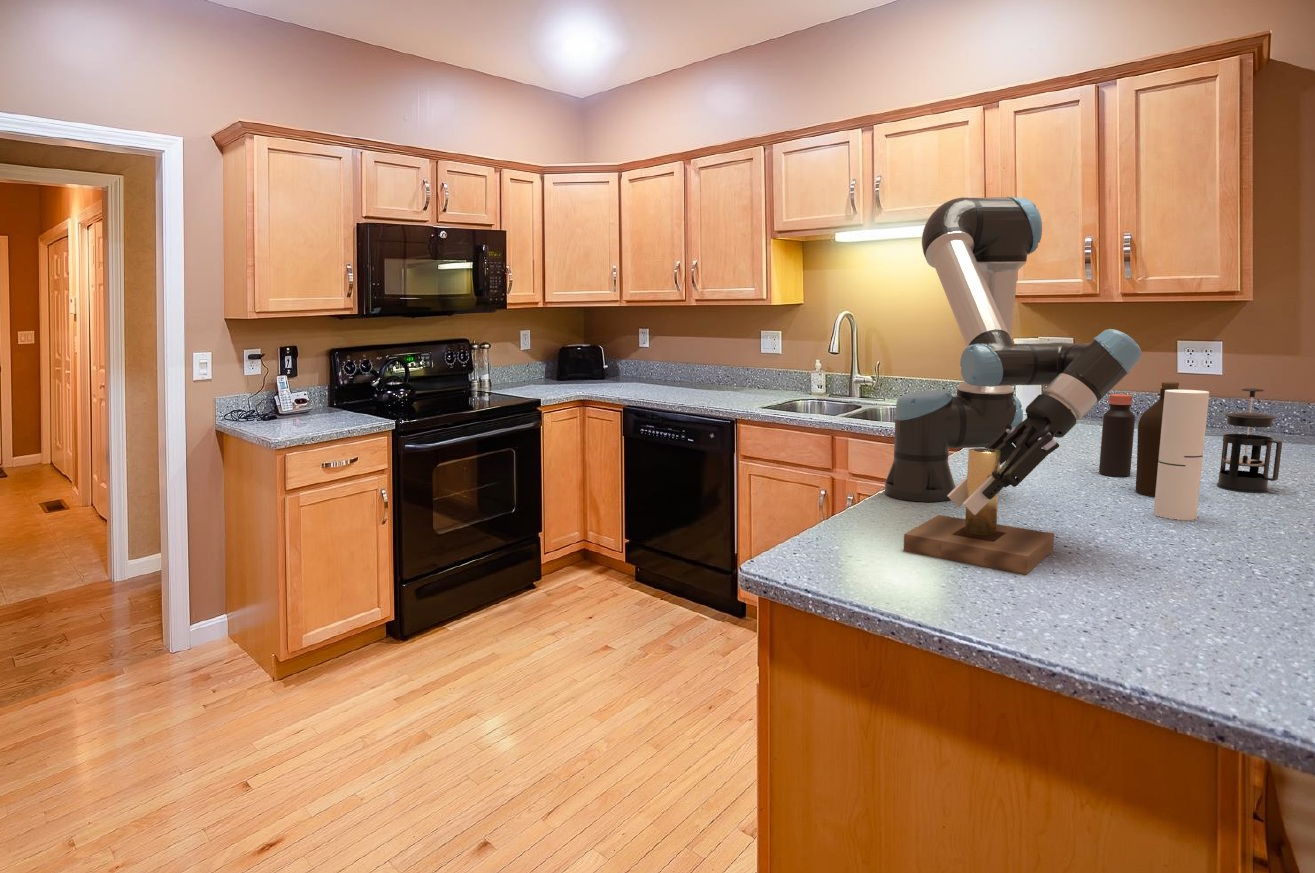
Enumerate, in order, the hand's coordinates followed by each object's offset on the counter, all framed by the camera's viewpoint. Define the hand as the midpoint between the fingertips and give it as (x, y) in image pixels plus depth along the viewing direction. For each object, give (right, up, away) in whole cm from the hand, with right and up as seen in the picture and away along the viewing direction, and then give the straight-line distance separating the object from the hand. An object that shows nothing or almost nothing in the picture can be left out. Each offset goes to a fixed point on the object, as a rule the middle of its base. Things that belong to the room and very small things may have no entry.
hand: (960, 505), depth 129 cm
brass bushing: (+4, -5, +1) cm, 6 cm away
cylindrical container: (+52, -4, +22) cm, 57 cm away
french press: (+83, 0, +44) cm, 94 cm away
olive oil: (+61, -1, +41) cm, 73 cm away
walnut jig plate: (+4, -8, +2) cm, 9 cm away
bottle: (+63, +2, +61) cm, 88 cm away
